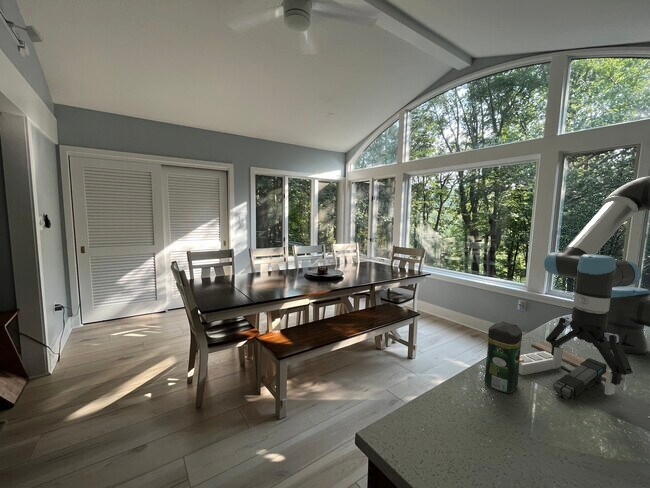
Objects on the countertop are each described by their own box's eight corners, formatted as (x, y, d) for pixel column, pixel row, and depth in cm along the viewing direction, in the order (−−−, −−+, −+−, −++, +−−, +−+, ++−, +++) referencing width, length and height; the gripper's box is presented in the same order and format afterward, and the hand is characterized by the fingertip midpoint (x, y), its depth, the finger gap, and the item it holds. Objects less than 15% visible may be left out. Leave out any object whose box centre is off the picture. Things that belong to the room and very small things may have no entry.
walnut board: (544, 343, 113) (545, 341, 113) (621, 377, 90) (622, 375, 90) (531, 345, 111) (531, 343, 111) (606, 381, 88) (607, 378, 88)
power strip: (547, 359, 101) (549, 348, 100) (587, 378, 90) (588, 366, 89) (508, 366, 96) (509, 355, 95) (544, 388, 84) (545, 375, 84)
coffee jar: (491, 372, 92) (496, 317, 90) (520, 384, 86) (526, 325, 84) (479, 384, 86) (484, 325, 84) (510, 398, 80) (516, 334, 78)
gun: (608, 383, 87) (607, 356, 85) (572, 421, 80) (570, 393, 77) (589, 375, 91) (588, 349, 89) (554, 411, 84) (551, 384, 81)
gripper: (537, 297, 92) (530, 359, 95) (640, 328, 69) (627, 410, 71) (554, 295, 94) (547, 356, 97) (659, 325, 71) (646, 404, 73)
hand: (580, 379), depth 84 cm, fingers open, 13 cm apart
